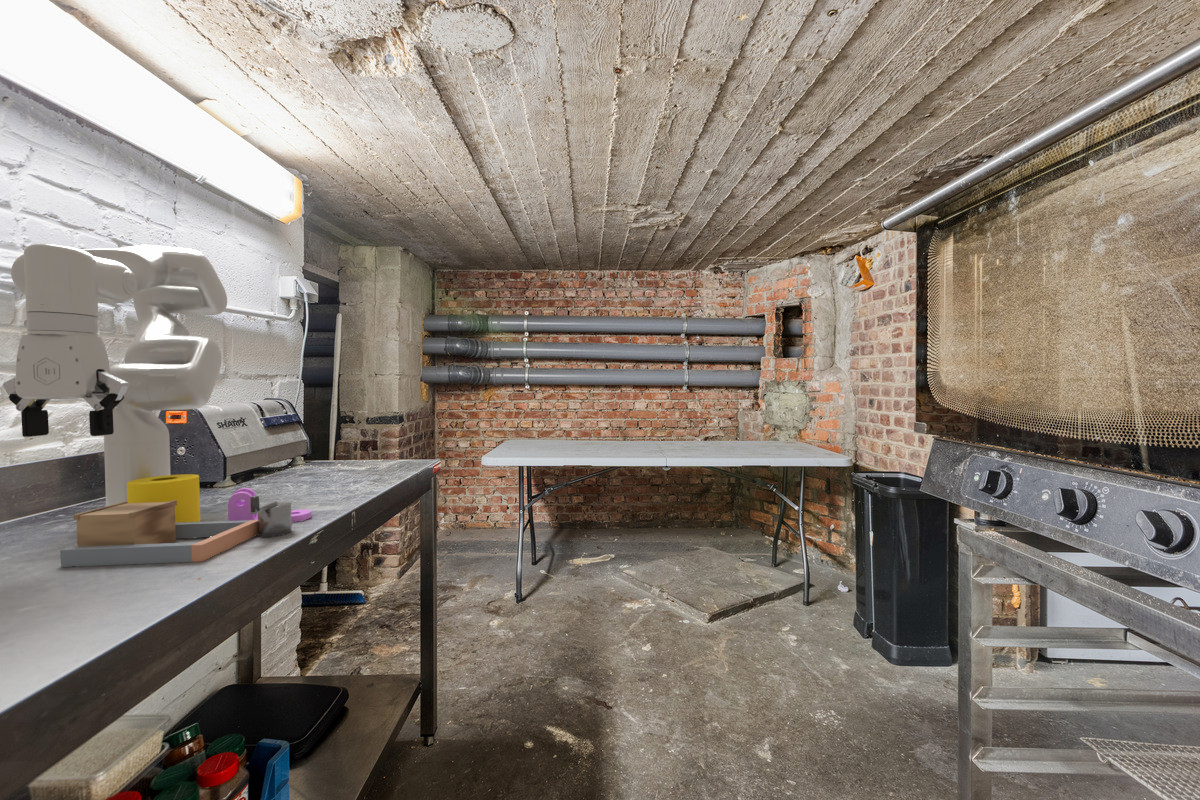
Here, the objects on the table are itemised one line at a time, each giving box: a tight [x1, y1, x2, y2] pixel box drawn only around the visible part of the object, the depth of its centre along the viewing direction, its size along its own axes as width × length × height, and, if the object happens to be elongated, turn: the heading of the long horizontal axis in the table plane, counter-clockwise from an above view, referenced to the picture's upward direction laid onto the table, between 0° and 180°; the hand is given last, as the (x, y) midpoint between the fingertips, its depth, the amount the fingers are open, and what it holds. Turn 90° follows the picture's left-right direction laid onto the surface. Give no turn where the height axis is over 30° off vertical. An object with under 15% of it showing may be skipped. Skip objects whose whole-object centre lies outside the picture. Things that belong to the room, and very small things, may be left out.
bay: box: [59, 520, 258, 568], centre depth 77 cm, size 14×20×2 cm
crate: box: [73, 500, 177, 547], centre depth 77 cm, size 8×8×7 cm
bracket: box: [227, 487, 312, 523], centre depth 93 cm, size 13×6×7 cm, turn 121°
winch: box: [250, 495, 293, 538], centre depth 83 cm, size 9×5×8 cm, turn 5°
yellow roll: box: [127, 473, 201, 523], centre depth 89 cm, size 10×10×9 cm
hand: (69, 435), depth 75 cm, fingers open, 9 cm apart
